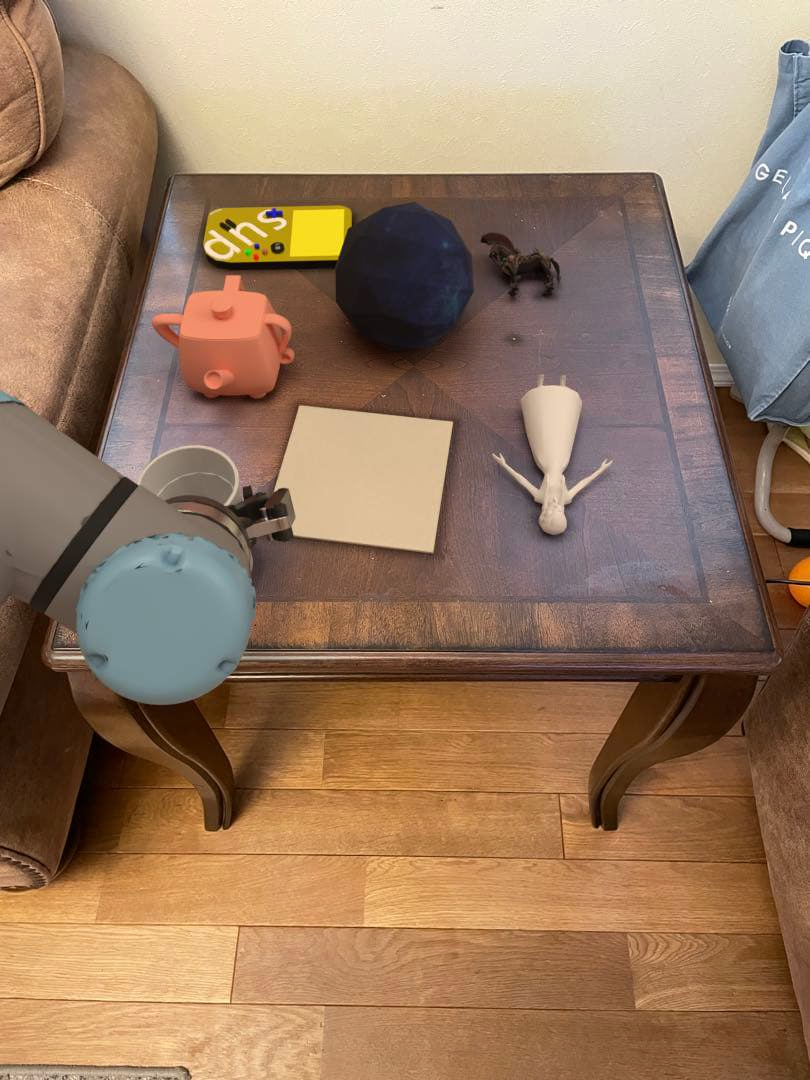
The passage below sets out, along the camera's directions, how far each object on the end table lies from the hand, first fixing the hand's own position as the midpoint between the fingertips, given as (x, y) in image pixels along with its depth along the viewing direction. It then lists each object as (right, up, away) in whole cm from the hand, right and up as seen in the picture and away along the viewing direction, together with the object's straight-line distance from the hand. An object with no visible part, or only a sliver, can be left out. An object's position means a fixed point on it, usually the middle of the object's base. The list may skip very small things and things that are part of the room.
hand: (204, 511), depth 71 cm
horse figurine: (+32, +26, +22) cm, 46 cm away
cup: (+1, -5, +2) cm, 5 cm away
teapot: (-1, +15, +15) cm, 21 cm away
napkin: (+14, +4, +7) cm, 16 cm away
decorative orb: (+18, +21, +19) cm, 33 cm away
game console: (+2, +34, +28) cm, 44 cm away
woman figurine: (+32, +5, +8) cm, 33 cm away
